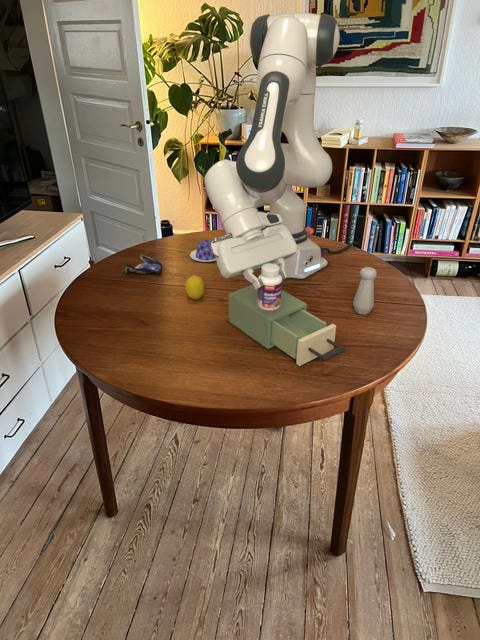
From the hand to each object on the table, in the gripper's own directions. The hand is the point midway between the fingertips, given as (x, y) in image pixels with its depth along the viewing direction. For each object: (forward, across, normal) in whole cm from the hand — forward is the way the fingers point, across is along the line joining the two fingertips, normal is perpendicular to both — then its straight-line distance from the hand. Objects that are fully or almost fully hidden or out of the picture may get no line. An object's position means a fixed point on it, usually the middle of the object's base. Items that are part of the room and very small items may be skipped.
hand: (271, 283), depth 104 cm
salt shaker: (+14, +34, +14) cm, 39 cm away
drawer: (+16, +7, +10) cm, 20 cm away
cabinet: (+7, +7, +20) cm, 23 cm away
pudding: (-27, +20, +55) cm, 64 cm away
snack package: (-28, -3, +56) cm, 63 cm away
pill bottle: (+4, 0, +5) cm, 6 cm away
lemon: (-10, 0, +38) cm, 39 cm away
